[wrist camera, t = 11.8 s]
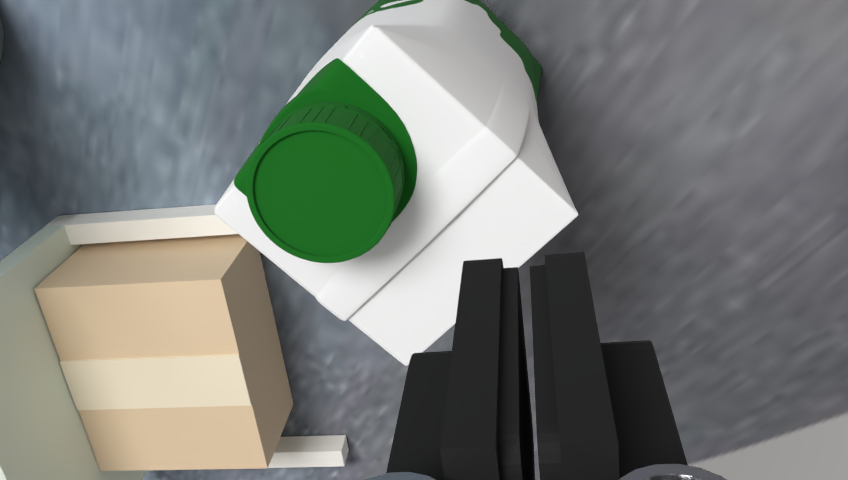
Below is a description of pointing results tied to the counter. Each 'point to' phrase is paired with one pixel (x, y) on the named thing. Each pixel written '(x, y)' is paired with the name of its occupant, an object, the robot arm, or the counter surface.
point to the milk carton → (404, 169)
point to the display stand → (40, 365)
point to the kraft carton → (170, 352)
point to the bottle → (1, 39)
